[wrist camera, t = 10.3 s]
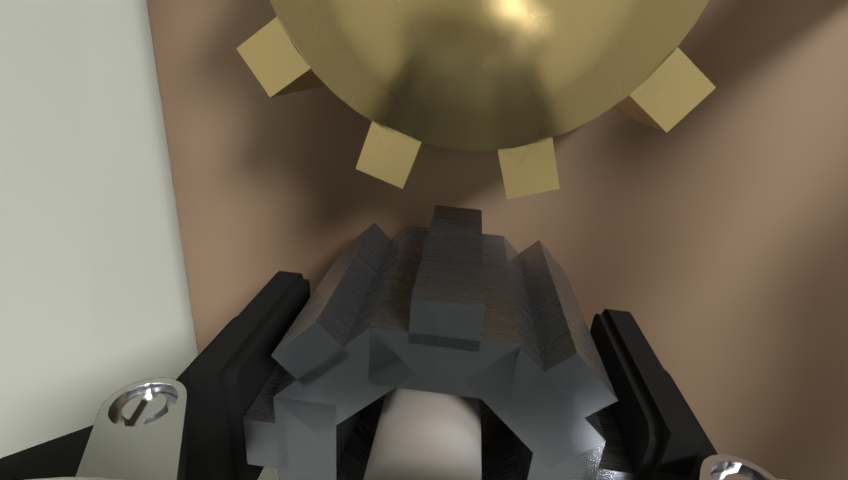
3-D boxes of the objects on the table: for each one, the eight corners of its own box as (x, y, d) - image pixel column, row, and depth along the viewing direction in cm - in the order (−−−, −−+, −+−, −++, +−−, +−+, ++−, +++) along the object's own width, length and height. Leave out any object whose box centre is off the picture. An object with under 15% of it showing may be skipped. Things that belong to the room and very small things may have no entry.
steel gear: (603, 222, 11) (685, 330, 6) (550, 439, 13) (584, 614, 9) (319, 193, 11) (227, 277, 7) (323, 408, 14) (258, 562, 10)
